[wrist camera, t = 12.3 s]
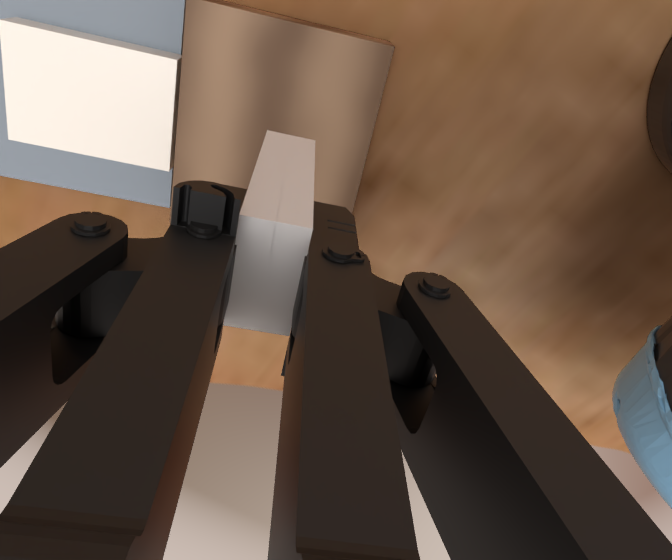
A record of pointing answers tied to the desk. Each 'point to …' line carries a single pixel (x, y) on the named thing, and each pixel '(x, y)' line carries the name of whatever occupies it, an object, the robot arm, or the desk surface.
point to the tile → (90, 93)
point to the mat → (77, 169)
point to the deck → (275, 95)
